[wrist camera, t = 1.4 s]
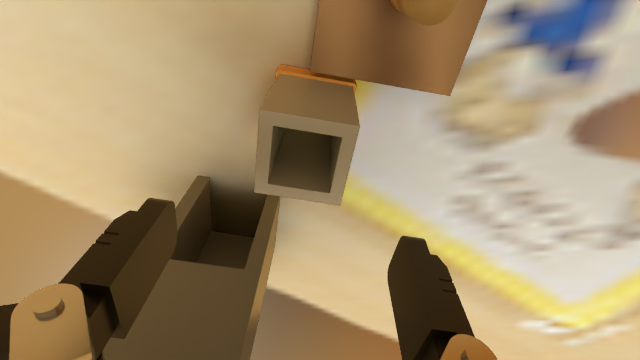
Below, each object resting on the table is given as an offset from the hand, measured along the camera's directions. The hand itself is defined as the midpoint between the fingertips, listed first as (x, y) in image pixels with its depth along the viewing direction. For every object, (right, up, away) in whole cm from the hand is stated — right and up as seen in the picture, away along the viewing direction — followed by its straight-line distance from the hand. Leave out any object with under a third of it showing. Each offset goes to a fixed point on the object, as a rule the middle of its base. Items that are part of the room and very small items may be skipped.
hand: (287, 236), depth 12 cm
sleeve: (+1, +7, +12) cm, 14 cm away
